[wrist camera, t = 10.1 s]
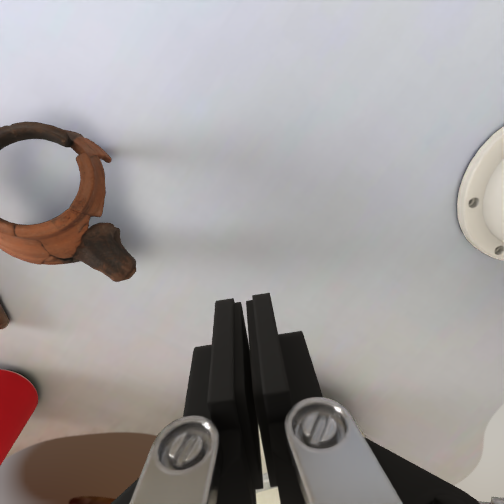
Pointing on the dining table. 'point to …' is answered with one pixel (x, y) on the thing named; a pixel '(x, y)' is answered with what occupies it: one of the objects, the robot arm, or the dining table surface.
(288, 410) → the robot arm
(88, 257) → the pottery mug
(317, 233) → the dining table surface
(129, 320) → the dining table surface
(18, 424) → the beverage can
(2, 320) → the spoon
